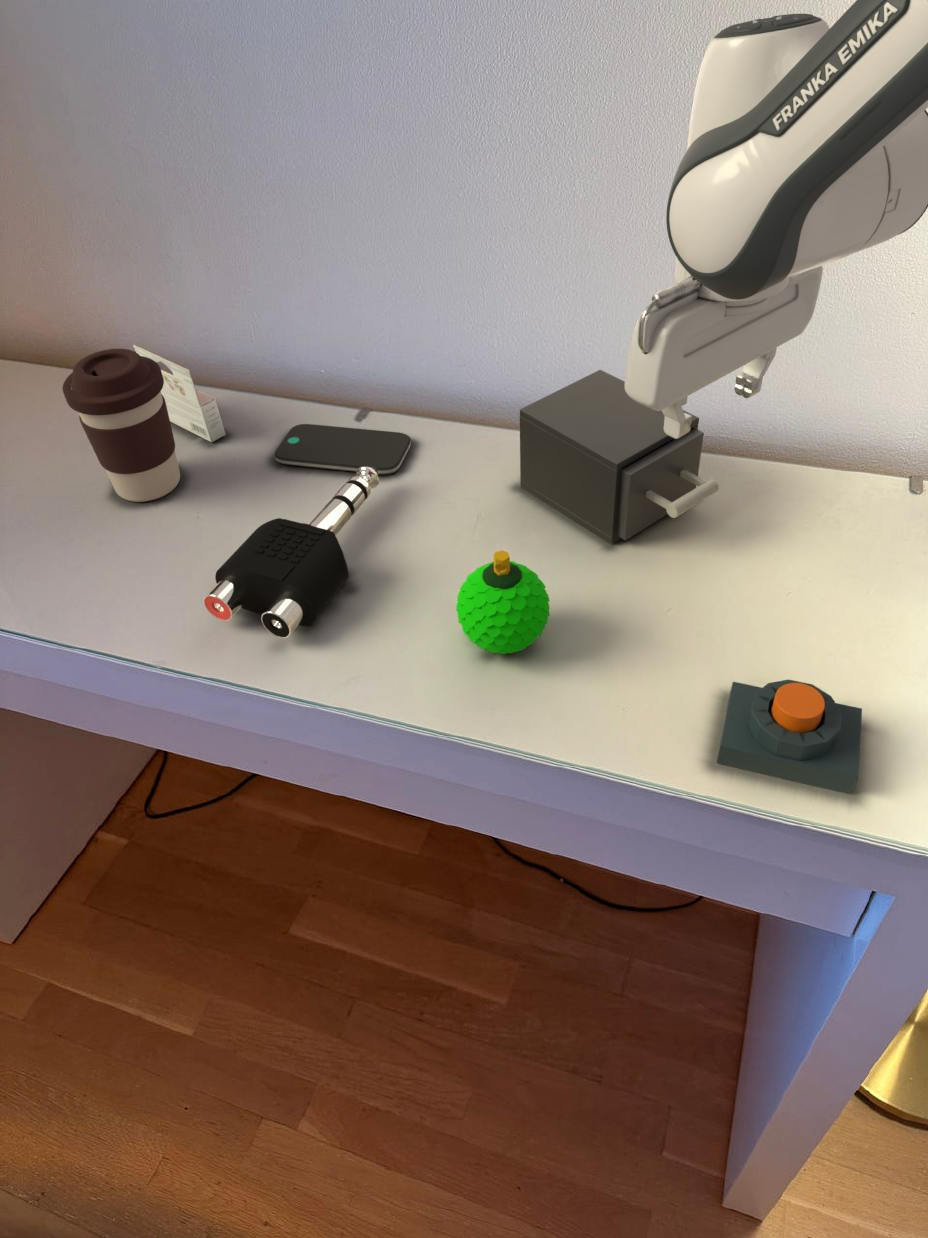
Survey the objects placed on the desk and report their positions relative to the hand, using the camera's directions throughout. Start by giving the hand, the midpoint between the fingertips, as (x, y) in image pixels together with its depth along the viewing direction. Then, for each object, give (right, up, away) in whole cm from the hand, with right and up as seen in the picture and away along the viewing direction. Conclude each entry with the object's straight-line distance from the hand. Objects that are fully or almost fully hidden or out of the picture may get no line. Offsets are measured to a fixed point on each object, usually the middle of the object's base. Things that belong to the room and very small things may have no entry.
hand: (712, 412), depth 82 cm
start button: (+3, -26, -11) cm, 28 cm away
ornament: (-18, -20, +2) cm, 27 cm away
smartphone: (-36, +1, +25) cm, 44 cm away
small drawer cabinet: (-7, -5, +17) cm, 19 cm away
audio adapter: (-36, -12, +12) cm, 40 cm away
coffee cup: (-58, -3, +23) cm, 62 cm away
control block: (+4, -28, -8) cm, 30 cm away
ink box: (-55, +5, +32) cm, 64 cm away
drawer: (-5, -6, +14) cm, 16 cm away
